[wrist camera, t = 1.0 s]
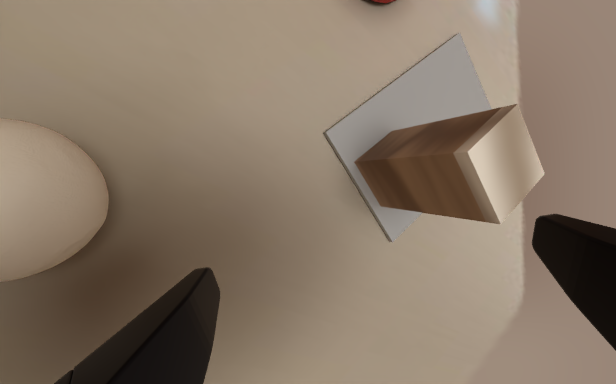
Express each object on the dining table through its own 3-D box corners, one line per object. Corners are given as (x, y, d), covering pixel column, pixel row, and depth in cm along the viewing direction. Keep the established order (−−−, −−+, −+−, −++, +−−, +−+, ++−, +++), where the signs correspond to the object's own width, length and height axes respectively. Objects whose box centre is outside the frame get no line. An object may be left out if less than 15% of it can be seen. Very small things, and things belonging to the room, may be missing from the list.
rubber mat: (389, 241, 26) (392, 242, 25) (323, 133, 22) (325, 132, 22) (498, 134, 31) (502, 134, 30) (456, 34, 28) (459, 32, 27)
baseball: (-94, 192, 14) (-306, 203, 8) (55, 107, 16) (-21, 65, 10) (25, 289, 16) (-71, 359, 10) (144, 202, 18) (126, 216, 12)
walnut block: (380, 206, 24) (500, 224, 15) (354, 161, 23) (467, 152, 14) (415, 175, 26) (544, 173, 17) (391, 131, 25) (517, 103, 15)
